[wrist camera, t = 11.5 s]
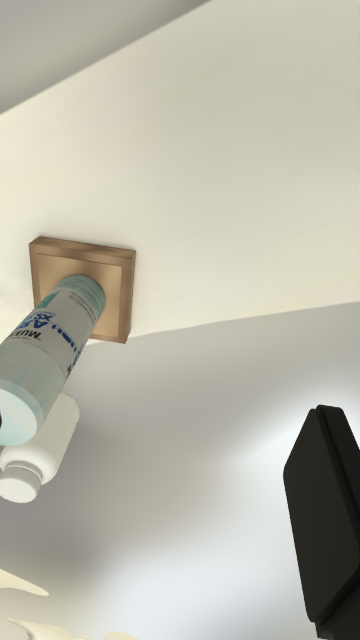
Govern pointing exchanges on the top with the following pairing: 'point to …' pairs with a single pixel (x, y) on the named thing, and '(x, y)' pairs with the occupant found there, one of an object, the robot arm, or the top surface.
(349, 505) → the robot arm
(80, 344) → the pale blue bottle
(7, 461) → the pill bottle
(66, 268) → the square brown tray
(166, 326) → the top surface
